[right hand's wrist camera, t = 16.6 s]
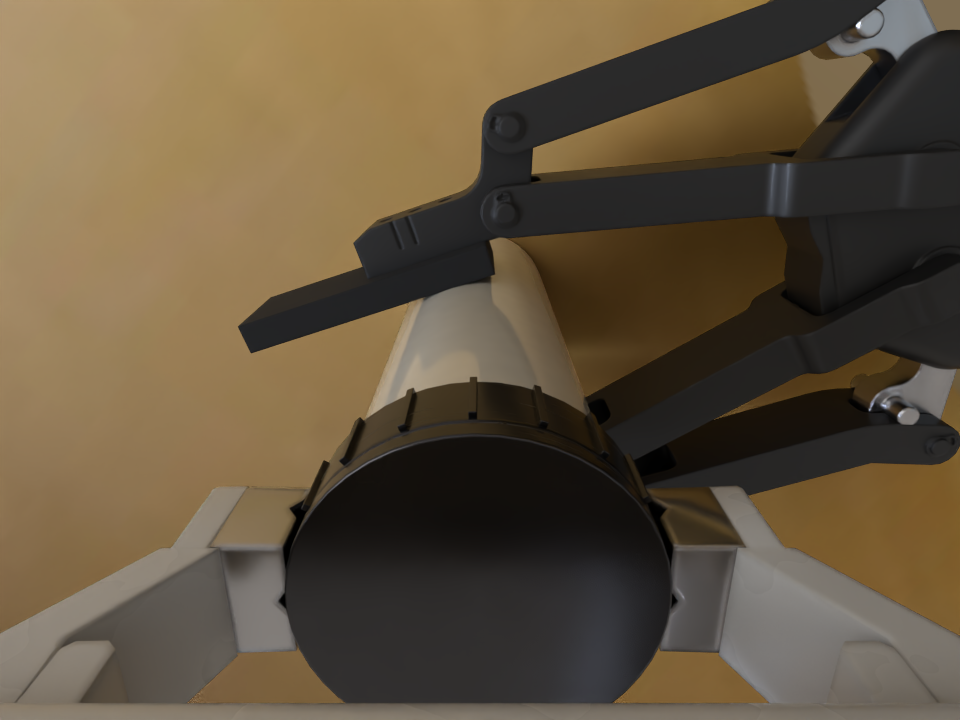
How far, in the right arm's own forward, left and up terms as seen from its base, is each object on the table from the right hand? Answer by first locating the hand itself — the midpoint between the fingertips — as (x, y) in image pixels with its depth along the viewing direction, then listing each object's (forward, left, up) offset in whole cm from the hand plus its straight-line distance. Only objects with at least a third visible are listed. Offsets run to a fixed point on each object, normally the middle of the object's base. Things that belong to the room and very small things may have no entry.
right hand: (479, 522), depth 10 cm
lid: (0, 0, +2) cm, 2 cm away
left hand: (-5, -2, -8) cm, 10 cm away
